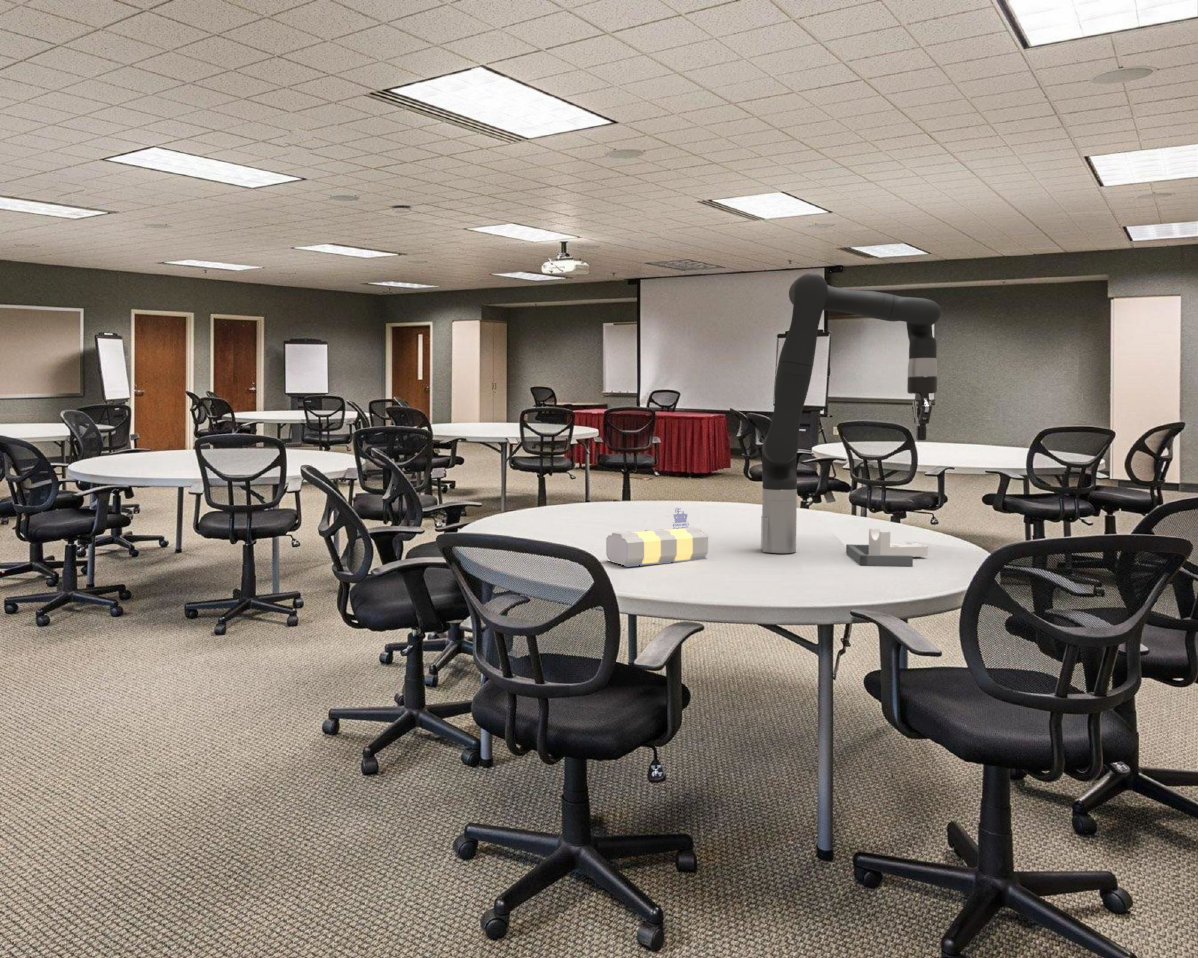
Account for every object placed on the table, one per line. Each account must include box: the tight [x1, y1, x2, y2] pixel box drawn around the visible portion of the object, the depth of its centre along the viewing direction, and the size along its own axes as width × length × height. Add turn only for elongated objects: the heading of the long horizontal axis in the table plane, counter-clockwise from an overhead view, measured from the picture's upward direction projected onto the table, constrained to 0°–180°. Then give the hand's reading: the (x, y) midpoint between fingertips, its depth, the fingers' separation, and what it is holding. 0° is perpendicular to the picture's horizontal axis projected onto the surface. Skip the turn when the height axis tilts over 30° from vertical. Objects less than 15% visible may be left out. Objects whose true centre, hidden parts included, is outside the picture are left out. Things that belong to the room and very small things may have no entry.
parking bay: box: [845, 544, 914, 567], centre depth 235 cm, size 12×21×2 cm, turn 174°
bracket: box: [868, 528, 929, 558], centre depth 239 cm, size 13×7×8 cm, turn 98°
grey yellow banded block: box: [605, 507, 709, 568], centre depth 236 cm, size 25×10×13 cm, turn 120°
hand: (921, 440), depth 245 cm, fingers closed
